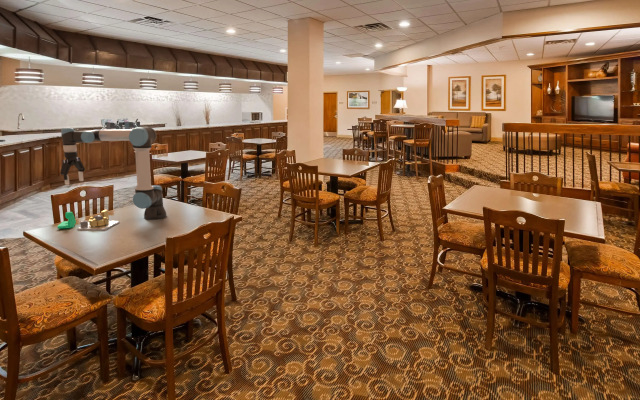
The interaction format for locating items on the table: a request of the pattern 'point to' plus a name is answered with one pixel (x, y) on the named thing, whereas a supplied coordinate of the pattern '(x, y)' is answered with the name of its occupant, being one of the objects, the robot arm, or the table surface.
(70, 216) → the camera mount
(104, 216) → the gold lumpy cluster
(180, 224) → the table surface
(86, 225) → the housing
